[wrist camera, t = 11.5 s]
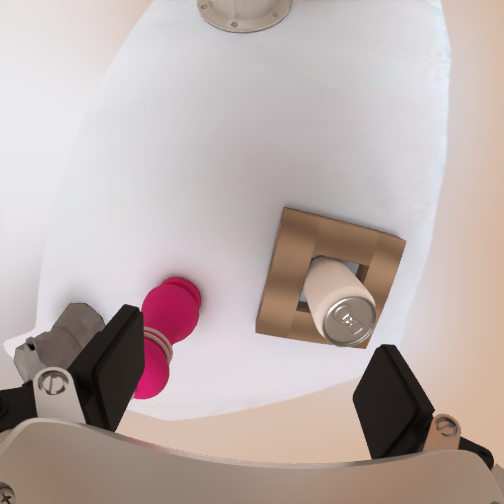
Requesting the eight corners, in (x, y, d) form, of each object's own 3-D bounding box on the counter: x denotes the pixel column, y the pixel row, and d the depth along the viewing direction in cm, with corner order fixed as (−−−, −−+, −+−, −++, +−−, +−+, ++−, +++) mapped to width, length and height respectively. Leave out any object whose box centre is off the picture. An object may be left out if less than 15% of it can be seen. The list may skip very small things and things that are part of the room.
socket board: (283, 206, 34) (286, 210, 31) (396, 236, 35) (406, 241, 32) (255, 321, 39) (255, 332, 36) (359, 337, 39) (365, 348, 36)
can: (328, 244, 35) (359, 278, 24) (356, 278, 37) (392, 321, 25) (290, 277, 37) (303, 323, 25) (320, 309, 38) (341, 361, 26)
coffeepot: (64, 282, 38) (-9, 335, 21) (111, 302, 39) (44, 371, 21) (67, 353, 42) (16, 412, 25) (108, 373, 43) (64, 443, 25)
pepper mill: (215, 297, 38) (179, 404, 18) (185, 329, 39) (139, 435, 20) (173, 262, 37) (100, 347, 17) (145, 298, 38) (74, 388, 19)
